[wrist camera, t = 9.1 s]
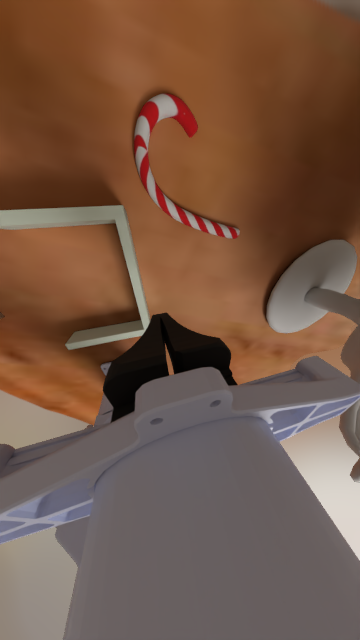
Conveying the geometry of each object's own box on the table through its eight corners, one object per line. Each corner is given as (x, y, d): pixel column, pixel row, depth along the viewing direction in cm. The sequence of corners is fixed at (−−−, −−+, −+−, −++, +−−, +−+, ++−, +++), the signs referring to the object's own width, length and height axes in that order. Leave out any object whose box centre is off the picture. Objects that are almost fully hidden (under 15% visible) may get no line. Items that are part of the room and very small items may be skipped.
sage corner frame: (151, 323, 23) (152, 333, 20) (77, 336, 21) (68, 349, 18) (126, 211, 15) (122, 205, 12) (4, 217, 13) (-29, 211, 10)
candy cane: (225, 258, 19) (119, 173, 13) (221, 257, 20) (121, 179, 14) (263, 199, 17) (154, 56, 10) (256, 202, 18) (153, 74, 11)
